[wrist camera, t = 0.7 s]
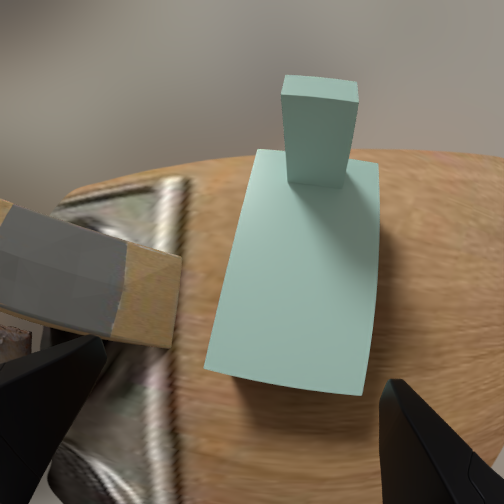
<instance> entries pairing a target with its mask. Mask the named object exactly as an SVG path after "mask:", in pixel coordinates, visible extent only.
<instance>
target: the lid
mask: <svg viewBox="0 0 504 504" xmlns="http://www.w3.org/2000/svg"><path fill="white" fill-rule="evenodd" d="M281 102H282V114H283V126H284V139H285V151H278V150H265V149H257V153H256V157H255V161H254V164H253V168H252V172H251V176H250V180H249V183H248V187H247V191H246V195H245V199H244V203H243V207H242V210H241V214H240V218H239V222H238V226H237V230H236V234H235V238H234V242H233V246H232V250H231V254H230V258H229V262H228V266H227V271H226V275H225V279H224V283H223V287H222V291H221V295H220V300H219V304H218V308H217V312H216V316H215V321H214V325H213V329H212V334H211V338H210V342H209V347H208V351H207V355H206V360H205V364H204V369H207V370H211V371H215V372H219V373H223V374H227V375H232V376H236V377H241V378H245V379H250V380H255V381H260V382H265V383H270V384H276V385H281V386H287V387H293V388H299V389H306V390H313V391H321V392H329V393H337V394H347V395H358V396H362V392H363V387H364V382H365V376H366V371H367V365H368V359H369V352H370V345H371V338H372V330H373V322H374V313H375V303H376V292H377V278H378V261H379V231H380V201H379V171H378V163H372V162H366V161H360V160H354V159H349V154H350V149H351V144H352V139H353V133H354V128H355V122H356V116H357V110H358V104H359V101H358V89H357V82H354V81H346V80H339V79H331V78H322V77H310V76H297V75H286V76H285V80H284V84H283V87H282V92H281Z"/></svg>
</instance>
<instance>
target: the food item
mask: <svg viewBox="0 0 504 504" xmlns="http://www.w3.org/2000/svg"><path fill="white" fill-rule="evenodd" d="M31 342H32V332H30V331H23V330H20V329H19V328H16V327H15V329H14V328H12V327H11V326H8V327H5V326H3V325H1V324H0V364H1V363H4V362H7V361H10V360H13V359H16V358H20V357H23V356H26V355H29V354H31V344H32V343H31Z"/></svg>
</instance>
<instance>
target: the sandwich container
mask: <svg viewBox="0 0 504 504" xmlns="http://www.w3.org/2000/svg"><path fill="white" fill-rule="evenodd" d="M181 265H182V257H181V256H177V255H173V254H170V253H166V252H163V251H159V250H156V249H152V248H149V247H145V246H142V245H139V244H135V243H132V242H129V241H125V240H122V239H119V238H115V237H112V236H109V235H106V234H102V233H99V232H96V231H93V230H90V229H86V228H83V227H81V226H78V225H75V224H72V223H69V222H66V221H63V220H60V219H57V218H54V217H51V216H48V215H45V214H42V213H39V212H36V211H33V210H30V209H28V208H25V207H22V206H19V205H16V204H13V203H11V202H8V201H6V200H3V199H1V198H0V312H3V313H6V314H9V315H12V316H15V317H18V318H21V319H24V320H27V321H30V322H33V323H37V324H40V325H44V326H48V327H51V328H55V329H59V330H63V331H67V332H71V333H76V334H80V335H84V336H85V335H88V334H93V335H96V336H99V337H100V338H101V339H105V340H111V341H117V342H123V343H130V344H136V345H143V346H151V347H159V348H167V349H169V348H170V347H171V344H172V337H173V330H174V323H175V316H176V310H177V303H178V294H179V284H180V274H181Z"/></svg>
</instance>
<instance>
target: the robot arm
mask: <svg viewBox="0 0 504 504" xmlns="http://www.w3.org/2000/svg"><path fill="white" fill-rule="evenodd" d="M106 360H107V355H106V352H105V348H104V345H103V342H102V339H101V338H100V337H99V336H96V335H93V334H88V335H85V336H82V337H79V338H76V339H73V340H70V341H68V342H65V343H62V344H59V345H56V346H53V347H50V348H47V349H44V350H41V351H38V352H35V353H32V354H29V355H26V356H23V357H20V358H16V359H13V360H10V361H7V362H4V363H1V364H0V503H1V504H28V503H29V502H30V499H31V498H32V496H33V494H34V492H35V489H36V488H37V486H38V484H39V482H40V480H41V478H42V476H43V474H44V472H45V470H46V469H47V467H48V465H49V463H50V461H51V459H52V458H53V456H54V454H55V452H56V451H57V449H58V447H59V445H60V444H61V442H62V440H63V438H64V437H65V435H66V433H67V432H68V430H69V428H70V426H71V425H72V423H73V421H74V420H75V418H76V416H77V415H78V413H79V411H80V410H81V408H82V407H83V405H84V403H85V402H86V400H87V398H88V397H89V395H90V393H91V391H92V389H93V387H94V385H95V383H96V381H97V379H98V377H99V375H100V373H101V371H102V369H103V367H104V365H105V363H106ZM472 451H473V450H472V449H471V447H470V446H469V445H468V444H467V443H466V442H465V441H464V440H463V439H462V438H461V437H460V436H459V435H458V434H457V433H456V432H455V431H454V430H453V429H452V428H451V427H450V426H449V425H448V424H447V423H446V422H445V421H444V420H443V419H442V418H441V417H440V416H439V415H438V414H437V413H436V412H435V411H434V410H433V409H432V408H431V407H430V406H429V405H428V404H427V403H426V402H425V401H424V400H423V399H422V398H421V397H420V396H419V395H418V394H417V393H416V392H415V391H414V390H413V389H412V388H411V387H410V386H409V385H408V384H407V383H406V382H405V381H404V380H403V379H389V380H388V381H387V383H386V386H385V388H384V391H383V393H382V396H381V398H380V402H379V456H380V467H381V480H382V498H383V504H504V479H503V478H502V477H501V476H500V475H498V474H497V473H496V472H495V471H494V470H493V469H492V468H491V467H489V466H488V465H487V464H486V463H485V462H484V461H483V460H482V459H481V458H480V457H479V456H478V455H477V454H476V453H475V452H474V451H473V452H472Z"/></svg>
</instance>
